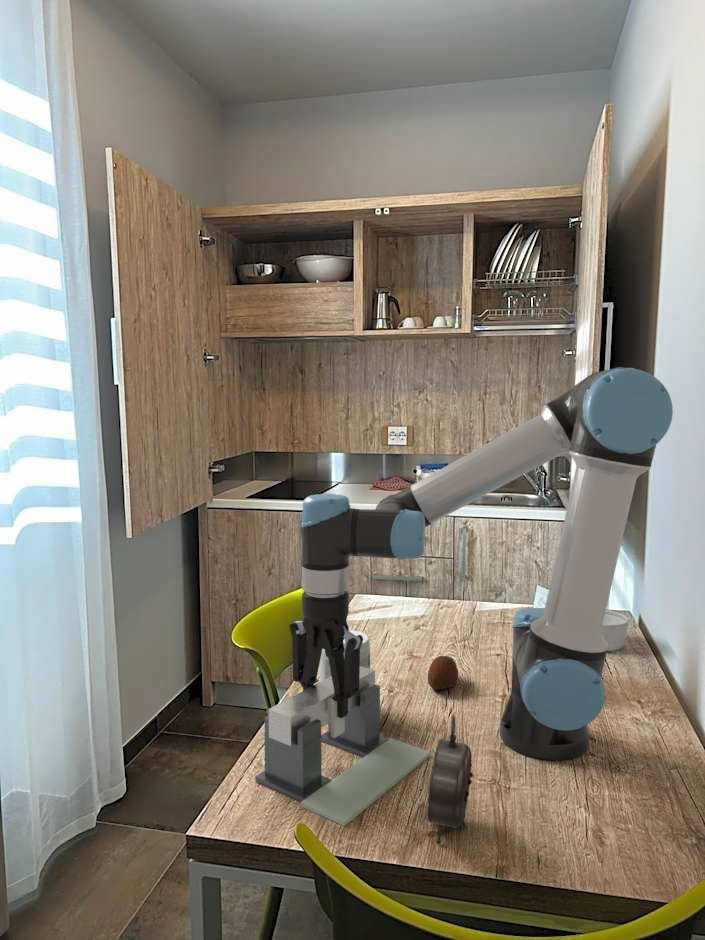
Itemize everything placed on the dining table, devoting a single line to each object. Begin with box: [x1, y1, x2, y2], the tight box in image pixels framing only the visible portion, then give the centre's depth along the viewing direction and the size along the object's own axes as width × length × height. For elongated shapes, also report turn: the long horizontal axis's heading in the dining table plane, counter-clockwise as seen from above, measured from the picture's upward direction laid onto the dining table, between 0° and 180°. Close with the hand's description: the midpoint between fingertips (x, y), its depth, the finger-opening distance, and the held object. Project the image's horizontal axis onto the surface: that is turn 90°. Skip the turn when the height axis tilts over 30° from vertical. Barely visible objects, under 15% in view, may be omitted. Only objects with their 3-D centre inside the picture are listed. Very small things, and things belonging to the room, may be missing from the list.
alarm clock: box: [427, 714, 474, 845], centre depth 98 cm, size 11×5×16 cm, turn 164°
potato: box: [427, 655, 459, 690], centre depth 146 cm, size 6×12×6 cm, turn 161°
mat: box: [300, 737, 431, 827], centre depth 111 cm, size 8×24×1 cm, turn 144°
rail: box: [268, 666, 376, 746], centre depth 115 cm, size 4×22×4 cm, turn 144°
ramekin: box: [601, 609, 629, 652], centre depth 170 cm, size 13×13×7 cm
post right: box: [321, 684, 389, 758], centre depth 122 cm, size 10×6×10 cm, turn 54°
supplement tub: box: [319, 629, 371, 682], centre depth 133 cm, size 10×10×15 cm
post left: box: [254, 714, 332, 803], centre depth 109 cm, size 10×6×10 cm, turn 54°
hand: (325, 729), depth 116 cm, fingers closed on rail, 4 cm apart
